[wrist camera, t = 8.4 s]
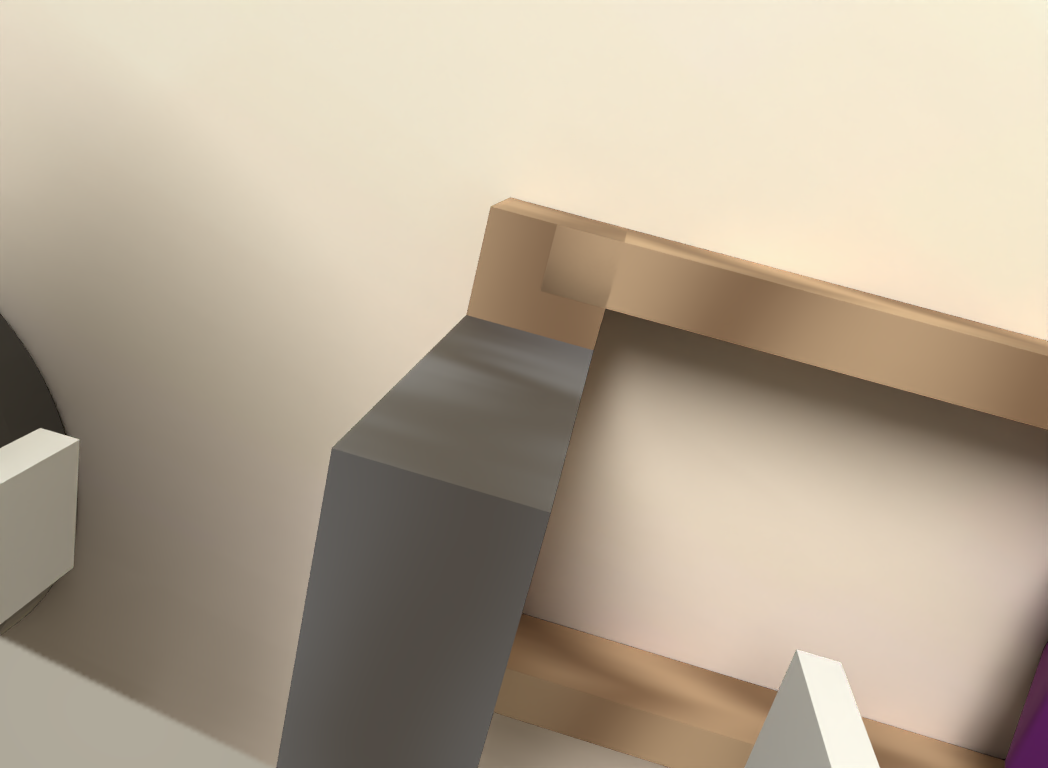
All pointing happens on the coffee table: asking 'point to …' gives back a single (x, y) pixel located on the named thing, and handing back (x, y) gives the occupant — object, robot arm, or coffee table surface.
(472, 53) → the coffee table surface
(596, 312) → the strip frame
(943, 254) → the coffee table surface
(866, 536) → the coffee table surface
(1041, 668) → the perfume bottle
